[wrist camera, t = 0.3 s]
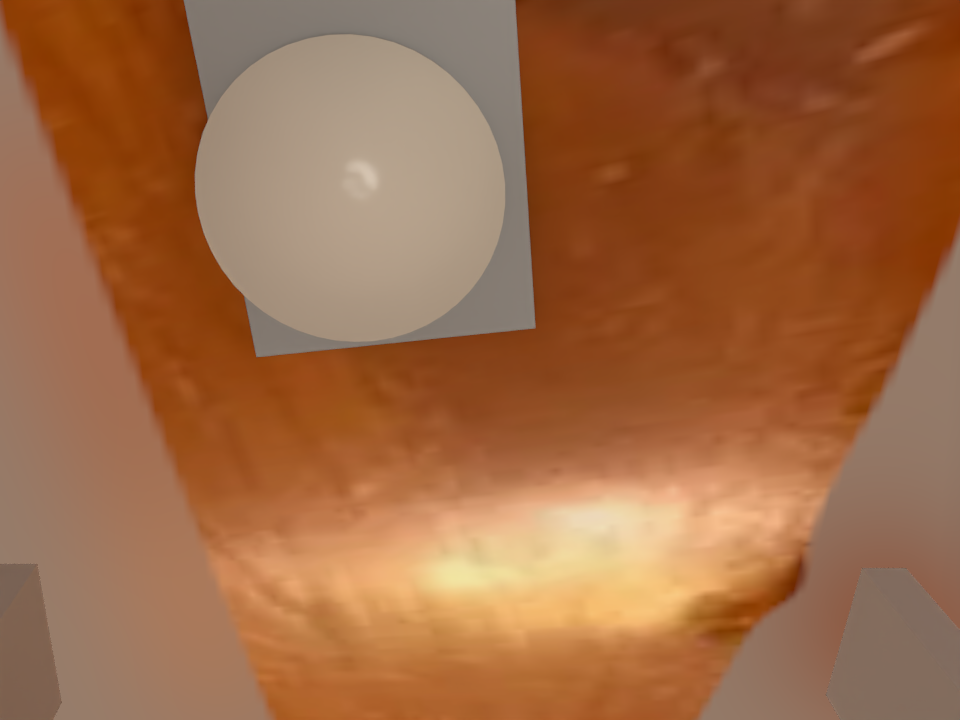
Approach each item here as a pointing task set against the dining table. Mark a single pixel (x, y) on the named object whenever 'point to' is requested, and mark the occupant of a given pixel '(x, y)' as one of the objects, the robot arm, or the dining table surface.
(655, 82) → the dining table surface
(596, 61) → the dining table surface
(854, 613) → the robot arm
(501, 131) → the felt placemat
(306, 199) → the cream round plate
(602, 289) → the dining table surface
